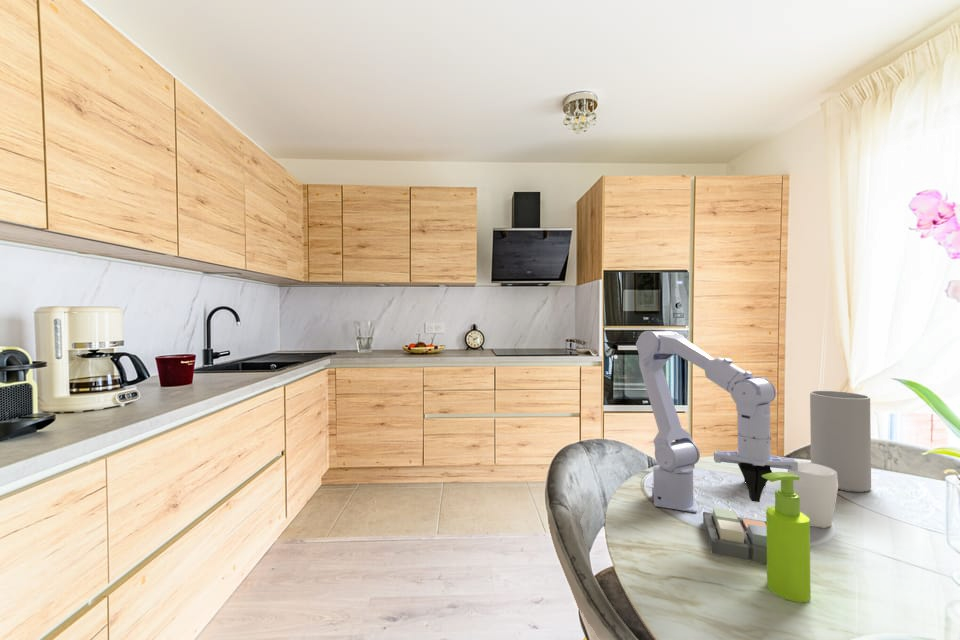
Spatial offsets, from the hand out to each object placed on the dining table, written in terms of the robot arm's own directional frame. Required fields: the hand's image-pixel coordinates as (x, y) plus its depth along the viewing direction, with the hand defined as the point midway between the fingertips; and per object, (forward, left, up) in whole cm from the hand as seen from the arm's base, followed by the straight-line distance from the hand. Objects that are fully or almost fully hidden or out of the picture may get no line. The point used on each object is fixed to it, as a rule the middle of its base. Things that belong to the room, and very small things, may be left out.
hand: (754, 499), depth 84 cm
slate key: (0, -5, -6) cm, 8 cm away
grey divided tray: (-3, -3, -8) cm, 9 cm away
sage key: (-5, 0, -6) cm, 8 cm away
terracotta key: (0, 0, -8) cm, 8 cm away
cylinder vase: (+29, +42, -9) cm, 52 cm away
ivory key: (-5, -5, -6) cm, 10 cm away
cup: (+14, +14, -9) cm, 22 cm away
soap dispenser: (+1, -17, -9) cm, 19 cm away
